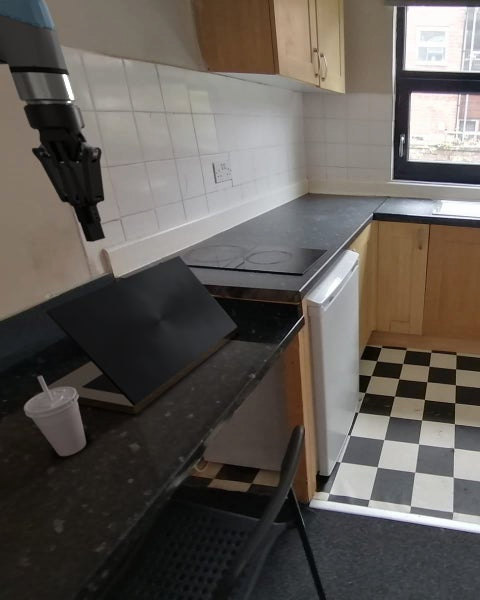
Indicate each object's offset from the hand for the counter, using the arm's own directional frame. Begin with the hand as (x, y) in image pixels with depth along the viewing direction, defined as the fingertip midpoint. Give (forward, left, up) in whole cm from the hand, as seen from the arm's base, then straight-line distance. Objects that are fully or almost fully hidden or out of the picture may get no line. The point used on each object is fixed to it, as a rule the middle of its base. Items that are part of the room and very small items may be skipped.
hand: (95, 239), depth 77 cm
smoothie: (+12, -24, -27) cm, 38 cm away
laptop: (+5, 0, -27) cm, 28 cm away
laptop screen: (+9, 0, -17) cm, 19 cm away
